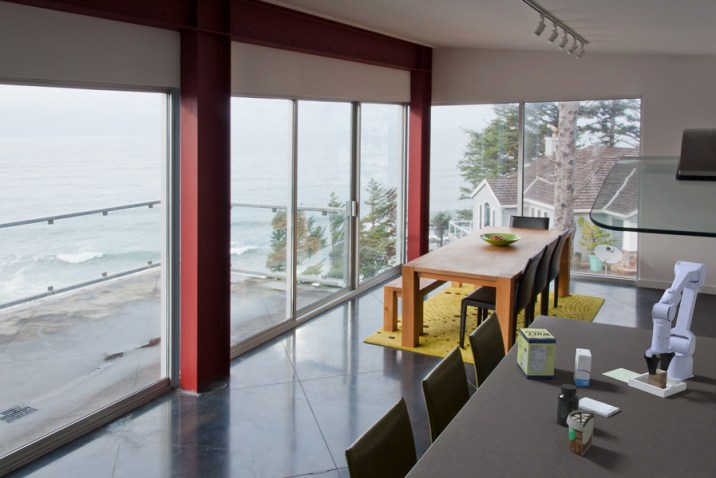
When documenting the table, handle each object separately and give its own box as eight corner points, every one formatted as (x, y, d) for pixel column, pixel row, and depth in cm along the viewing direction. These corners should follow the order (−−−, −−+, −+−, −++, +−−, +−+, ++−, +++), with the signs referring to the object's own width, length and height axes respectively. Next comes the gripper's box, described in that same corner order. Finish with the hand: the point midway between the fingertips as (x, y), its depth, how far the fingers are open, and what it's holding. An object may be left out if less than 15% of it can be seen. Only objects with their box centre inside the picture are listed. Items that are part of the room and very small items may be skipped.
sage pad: (621, 369, 276) (621, 367, 276) (646, 377, 268) (646, 376, 268) (602, 375, 270) (602, 373, 269) (627, 384, 261) (627, 382, 261)
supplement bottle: (558, 416, 231) (560, 381, 229) (579, 421, 227) (582, 385, 225) (552, 423, 225) (555, 387, 223) (574, 428, 221) (577, 392, 219)
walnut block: (654, 384, 260) (656, 368, 259) (666, 387, 256) (667, 371, 255) (647, 386, 257) (649, 370, 256) (659, 390, 254) (660, 374, 253)
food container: (572, 437, 215) (574, 405, 214) (593, 442, 212) (595, 410, 210) (558, 451, 205) (561, 419, 204) (580, 457, 202) (582, 424, 200)
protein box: (542, 365, 280) (544, 327, 277) (554, 379, 264) (556, 339, 262) (516, 365, 279) (518, 327, 277) (526, 379, 264) (528, 339, 261)
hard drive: (573, 402, 240) (607, 413, 231) (585, 396, 245) (619, 407, 236) (572, 407, 240) (606, 418, 231) (585, 401, 245) (619, 412, 236)
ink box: (590, 387, 257) (592, 355, 255) (575, 386, 258) (577, 354, 256) (587, 379, 265) (589, 348, 263) (573, 377, 266) (575, 347, 264)
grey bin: (650, 379, 266) (650, 371, 266) (685, 390, 255) (686, 382, 255) (628, 386, 258) (628, 378, 258) (663, 398, 247) (664, 390, 247)
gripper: (660, 342, 246) (656, 379, 248) (683, 335, 255) (679, 372, 257) (641, 337, 252) (638, 373, 254) (664, 331, 260) (661, 366, 262)
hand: (658, 372), depth 256 cm, fingers open, 7 cm apart
